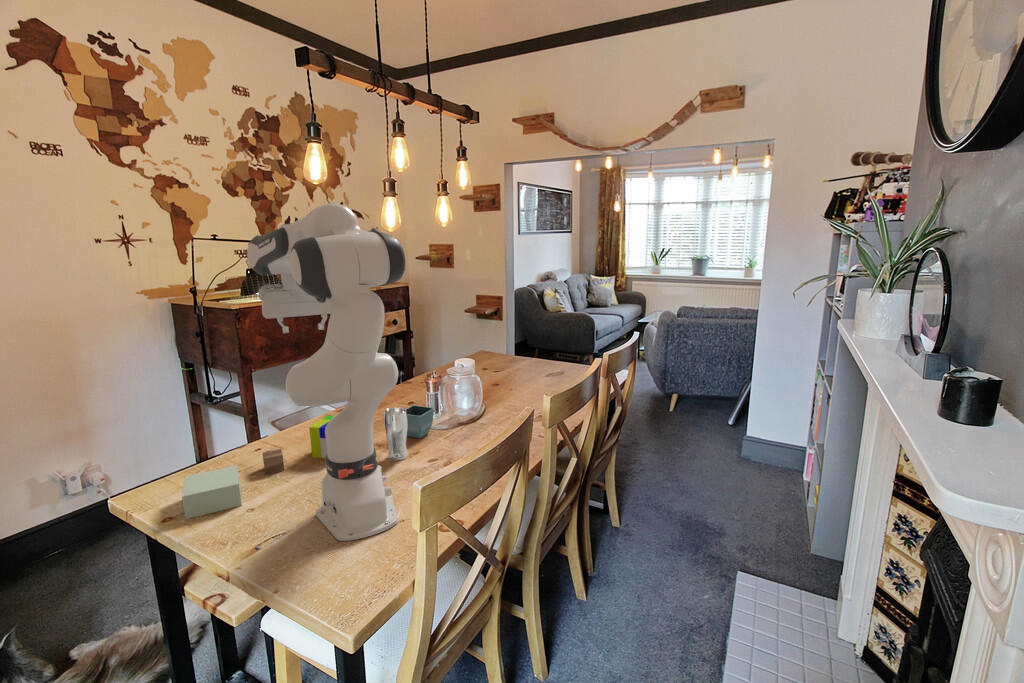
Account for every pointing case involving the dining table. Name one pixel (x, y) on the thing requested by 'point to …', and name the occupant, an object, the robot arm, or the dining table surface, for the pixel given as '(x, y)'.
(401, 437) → the beer glass
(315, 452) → the puzzle toy
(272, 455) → the walnut cube
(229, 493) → the block
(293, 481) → the dining table surface
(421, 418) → the flower pot
